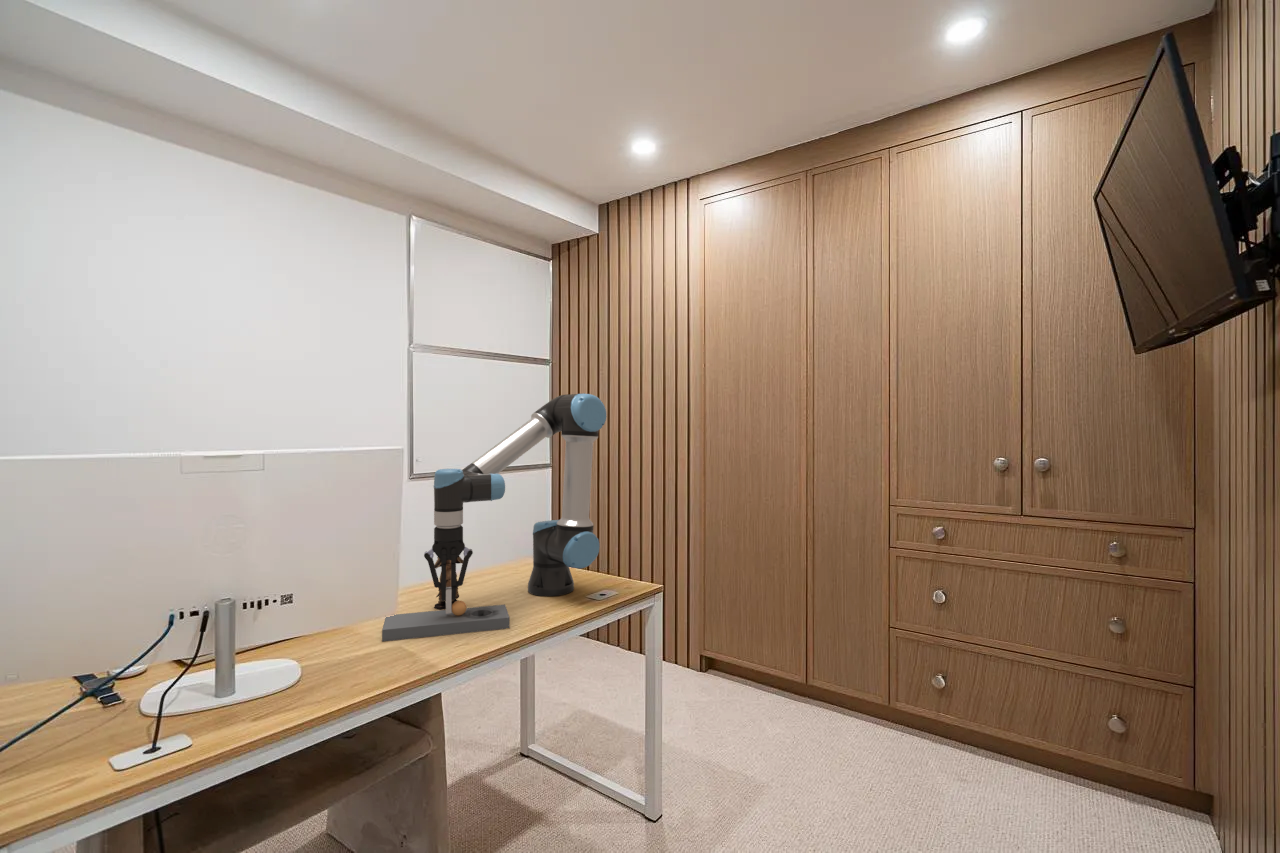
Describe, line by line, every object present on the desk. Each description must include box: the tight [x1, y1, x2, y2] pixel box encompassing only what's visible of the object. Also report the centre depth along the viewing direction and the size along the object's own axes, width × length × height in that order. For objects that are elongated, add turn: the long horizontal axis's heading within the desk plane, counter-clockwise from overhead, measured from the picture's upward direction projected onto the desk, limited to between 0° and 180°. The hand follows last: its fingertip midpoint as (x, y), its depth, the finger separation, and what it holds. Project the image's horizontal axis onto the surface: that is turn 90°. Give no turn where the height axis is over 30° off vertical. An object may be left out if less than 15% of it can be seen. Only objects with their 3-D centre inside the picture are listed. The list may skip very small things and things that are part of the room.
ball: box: [451, 600, 468, 616], centre depth 168 cm, size 4×4×4 cm
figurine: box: [433, 555, 463, 611], centre depth 185 cm, size 6×10×25 cm
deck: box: [381, 604, 511, 643], centre depth 167 cm, size 32×12×3 cm, turn 108°
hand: (448, 611), depth 167 cm, fingers closed
